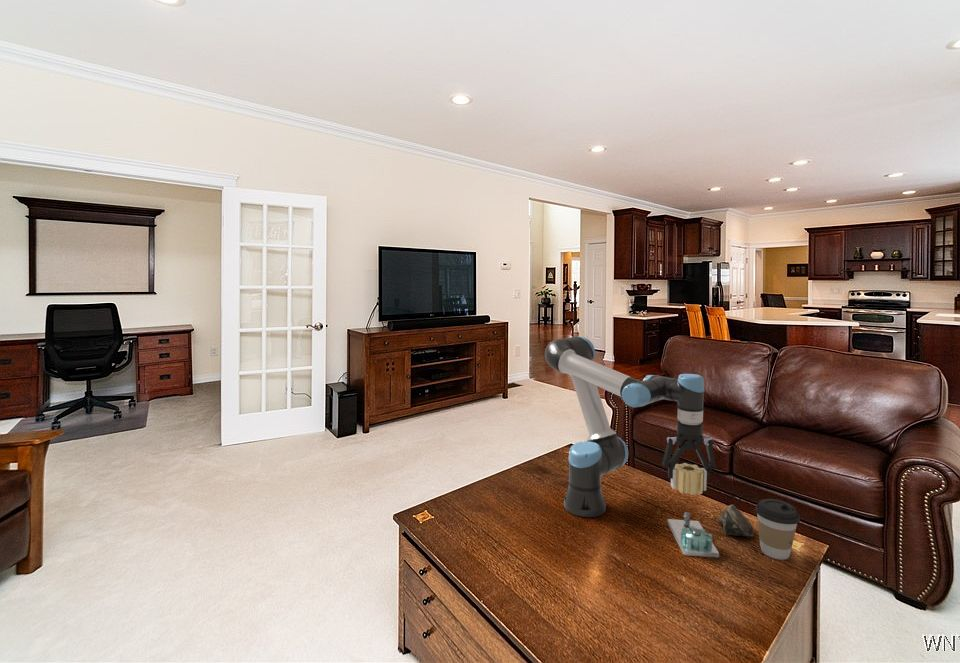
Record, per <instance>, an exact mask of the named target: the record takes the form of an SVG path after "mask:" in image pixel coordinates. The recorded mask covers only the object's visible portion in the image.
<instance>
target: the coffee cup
mask: <svg viewBox="0 0 960 663" xmlns="http://www.w3.org/2000/svg"><path fill="white" fill-rule="evenodd" d="M758 502H759V503H756V505H755V508H754V510H755V513H756V516H757V524H758V535H759V545H760V549H761V552H762V553H763V554H764V555H766V556H767V557H769V558H772V559H775V560H780V561H781V560H782V561H785V560H788V559H789V557H790V556H791V552H792V547H793V543H794V539H795V536H796V535H795V534H796V530H797V526H798V524H799V523H800V521H801V518H800V517H801V515H800V514H799V512H798V510H797V509H796V508H795V506H793V505H792V504H790V503H788V502H787V501H783V500H779V499H774V498H765V499H764V498H763V499H761V500H759V501H758Z"/></svg>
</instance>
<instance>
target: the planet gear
mask: <svg viewBox="0 0 960 663" xmlns="http://www.w3.org/2000/svg"><path fill="white" fill-rule="evenodd" d="M674 468H675V470H676V485H675V489H674V490H678V492H679V493H681V494H684V493H685V494H689V495H691V496H695V495H698V494H699V495H701V494H703V491H704V490H703V478H704V469H703V468H704V467H699V466H698V464H690V463H687V462H683V463H680V464H679V463H676V465H675V467H674Z"/></svg>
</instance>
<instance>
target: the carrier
mask: <svg viewBox="0 0 960 663" xmlns="http://www.w3.org/2000/svg"><path fill="white" fill-rule="evenodd" d="M666 522H667V525H668V526H669V529H670V531H671V532H672V534H673V537H674V539H675V541H676V543H677V545H678V547H679V549H680V551H681V552H682V554H683V556H690V557H691V556H693V557H703V558H704V557H706V558H707V557H708V558H717V559H718V558H720V553H719V551H718V549H717V547H716V546H715V544H714V543H713V535H712V533H707V531H706V529H704V528H703V526H702V524H701V522H700V521H699V520H691V514H690V512H688V511H685V512H684V513H683V519H674V518H673V519H672V518H671V519H669V518H668V519H667V521H666Z"/></svg>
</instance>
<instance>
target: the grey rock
mask: <svg viewBox="0 0 960 663" xmlns="http://www.w3.org/2000/svg"><path fill="white" fill-rule="evenodd" d="M717 522H718V523H719V524H722V532H723V535H724V536H728V535H729V536H730V535H733V536H735V537H737V536H743V537H745V538H747V539H750V538H753V537H754V535H755V534H754V530H755V529H754V527H753V525H752V524H751V522H750V520H749V519H748V518H747V517H746V516H744V515H743V513H742V512H741V510H740V509H739V508H737V507H736V506H735V505H734V504H730V505H728V506H727V508H726V509H725V510H724V511H723V512H722V513H721V514H720V516H719V517H718V520H717Z"/></svg>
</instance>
